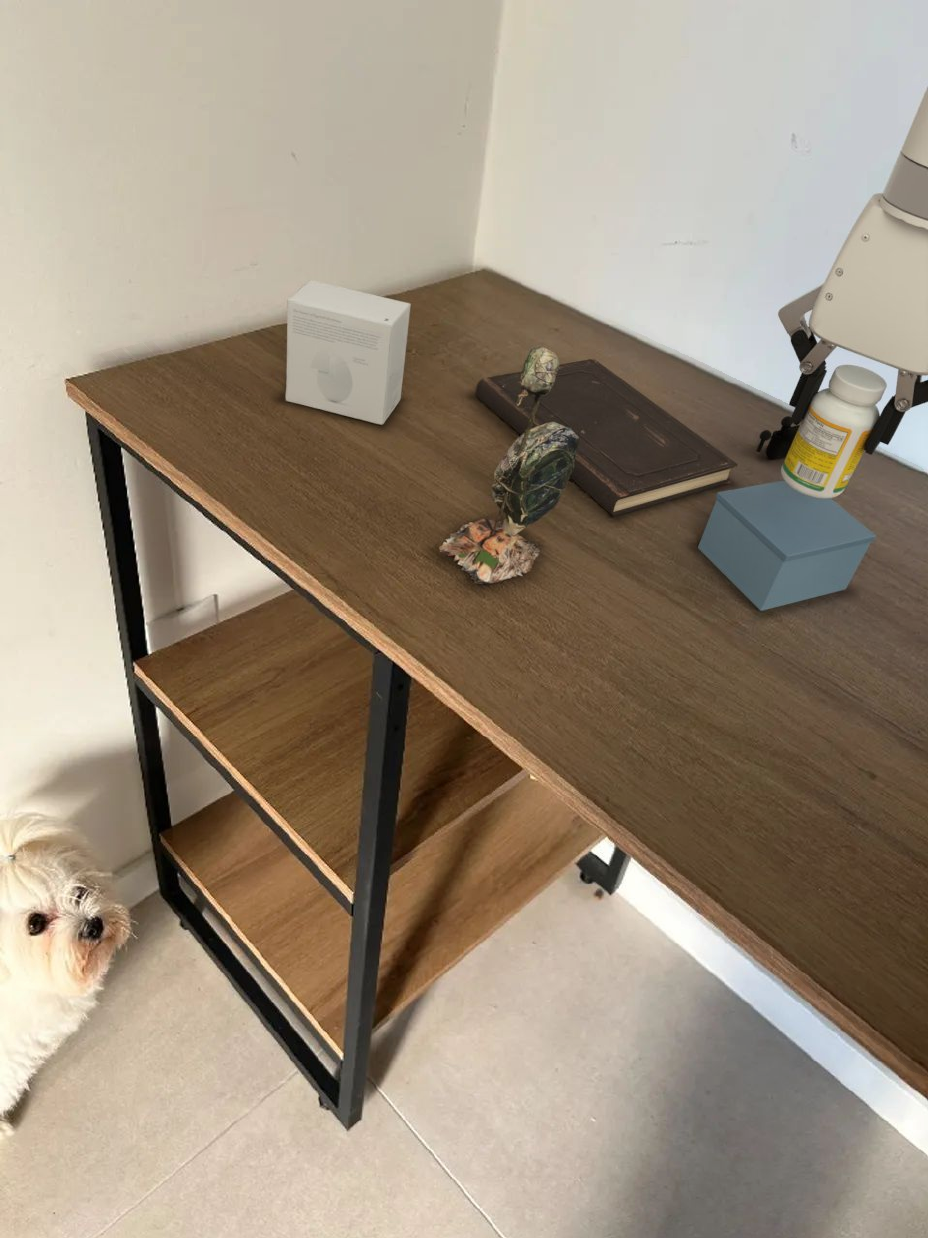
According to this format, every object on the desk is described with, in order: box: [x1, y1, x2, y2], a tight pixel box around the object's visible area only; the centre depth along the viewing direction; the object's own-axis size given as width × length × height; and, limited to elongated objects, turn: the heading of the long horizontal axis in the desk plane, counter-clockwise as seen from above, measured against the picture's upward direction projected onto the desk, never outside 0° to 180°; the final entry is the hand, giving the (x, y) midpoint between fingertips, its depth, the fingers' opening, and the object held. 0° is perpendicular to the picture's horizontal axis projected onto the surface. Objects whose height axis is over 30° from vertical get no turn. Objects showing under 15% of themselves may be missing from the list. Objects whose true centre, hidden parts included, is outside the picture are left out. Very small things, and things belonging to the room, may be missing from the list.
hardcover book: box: [475, 358, 739, 517], centre depth 95 cm, size 16×23×2 cm
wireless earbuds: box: [756, 415, 801, 460], centre depth 97 cm, size 7×2×5 cm, turn 119°
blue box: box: [697, 479, 877, 612], centre depth 81 cm, size 9×10×6 cm
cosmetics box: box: [284, 279, 412, 426], centre depth 91 cm, size 10×6×10 cm, turn 76°
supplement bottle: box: [780, 364, 888, 499], centre depth 74 cm, size 5×5×10 cm
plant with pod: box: [438, 346, 585, 586], centre depth 73 cm, size 8×11×20 cm
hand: (835, 429), depth 74 cm, fingers closed on supplement bottle, 5 cm apart
